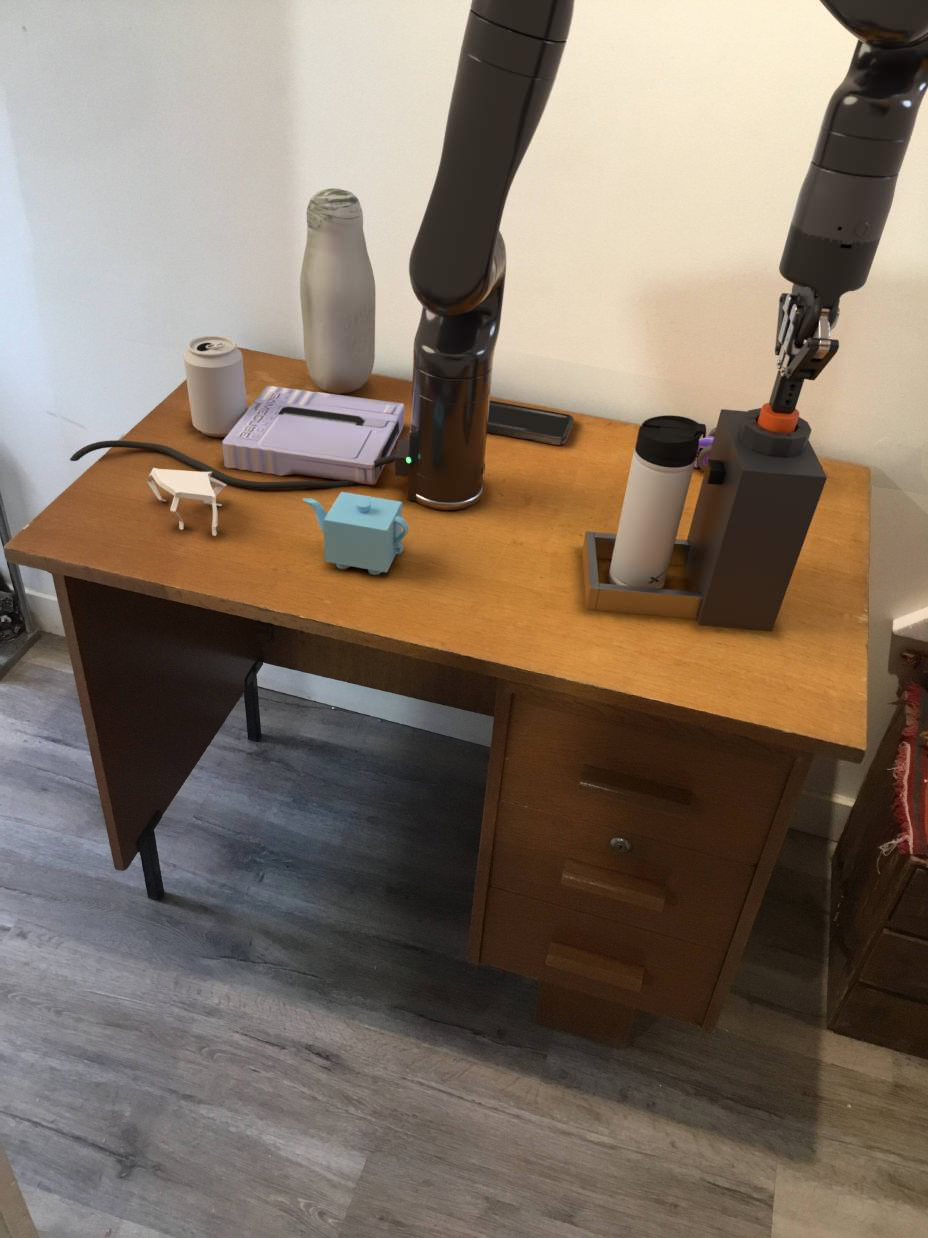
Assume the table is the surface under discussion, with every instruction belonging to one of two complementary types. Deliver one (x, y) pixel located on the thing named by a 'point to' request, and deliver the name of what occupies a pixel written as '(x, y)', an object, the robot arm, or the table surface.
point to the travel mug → (654, 500)
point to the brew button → (777, 420)
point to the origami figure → (187, 489)
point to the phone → (529, 423)
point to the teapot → (361, 531)
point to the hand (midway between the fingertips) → (780, 409)
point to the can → (215, 384)
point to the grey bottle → (337, 294)
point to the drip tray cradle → (641, 597)
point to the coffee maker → (752, 521)
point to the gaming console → (314, 435)
